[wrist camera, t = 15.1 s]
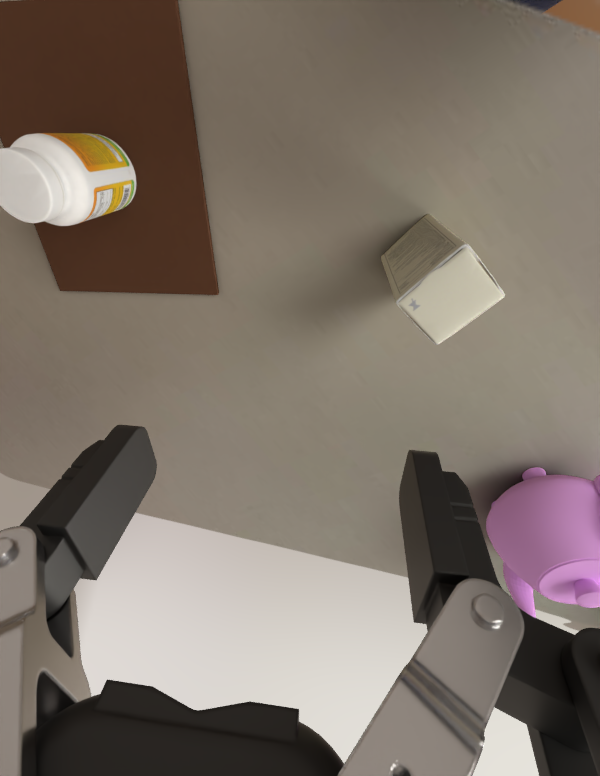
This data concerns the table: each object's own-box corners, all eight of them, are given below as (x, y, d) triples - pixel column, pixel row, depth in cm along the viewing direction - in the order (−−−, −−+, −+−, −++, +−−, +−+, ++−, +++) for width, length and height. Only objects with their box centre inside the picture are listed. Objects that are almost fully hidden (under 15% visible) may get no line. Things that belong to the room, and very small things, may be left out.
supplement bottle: (61, 134, 29) (-49, 134, 21) (127, 131, 28) (39, 130, 20) (86, 210, 32) (-2, 236, 24) (146, 209, 31) (76, 235, 23)
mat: (-46, 6, 25) (-53, 4, 25) (176, -6, 24) (173, -9, 24) (63, 289, 37) (59, 290, 36) (219, 293, 35) (217, 294, 35)
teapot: (531, 557, 53) (575, 660, 42) (441, 529, 51) (464, 628, 41) (650, 467, 41) (750, 577, 31) (538, 428, 40) (603, 529, 30)
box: (409, 291, 33) (432, 350, 24) (378, 256, 32) (390, 305, 23) (462, 248, 31) (509, 296, 22) (430, 208, 29) (467, 242, 20)
